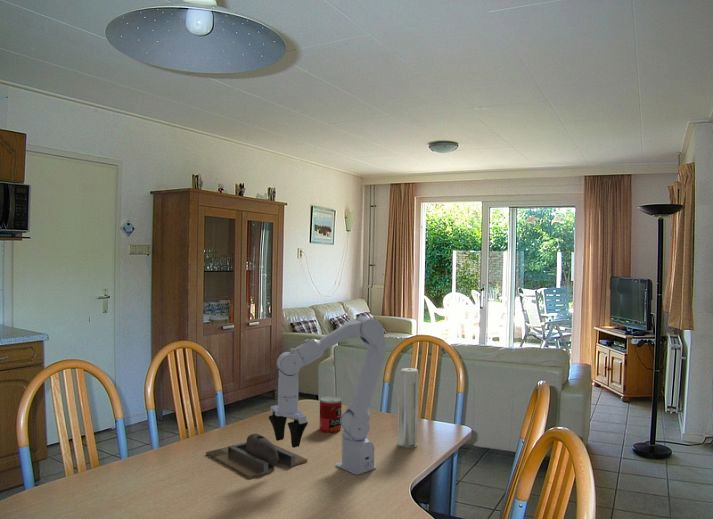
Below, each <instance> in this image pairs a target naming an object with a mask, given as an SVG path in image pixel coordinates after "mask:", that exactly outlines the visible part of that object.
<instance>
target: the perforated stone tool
mask: <svg viewBox="0 0 713 519" xmlns="http://www.w3.org/2000/svg"><path fill="white" fill-rule="evenodd" d="M245 442H246V451H247V453H249V454H251V455H253V456H255V457H257V458H259V459H261V460H263V461H265V462H267V463H268V467H275V466H276V465H277V464H278V462H279V461H278V453H277V450H276V448H275V446H274V445H275V444H274V443H272V442H271V441H270V440H269V439H267V437H265V436H263V435H261V434H259V433H251V434H249V435H248V436H247V438H246V441H245ZM273 444H274V445H273Z"/></svg>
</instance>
